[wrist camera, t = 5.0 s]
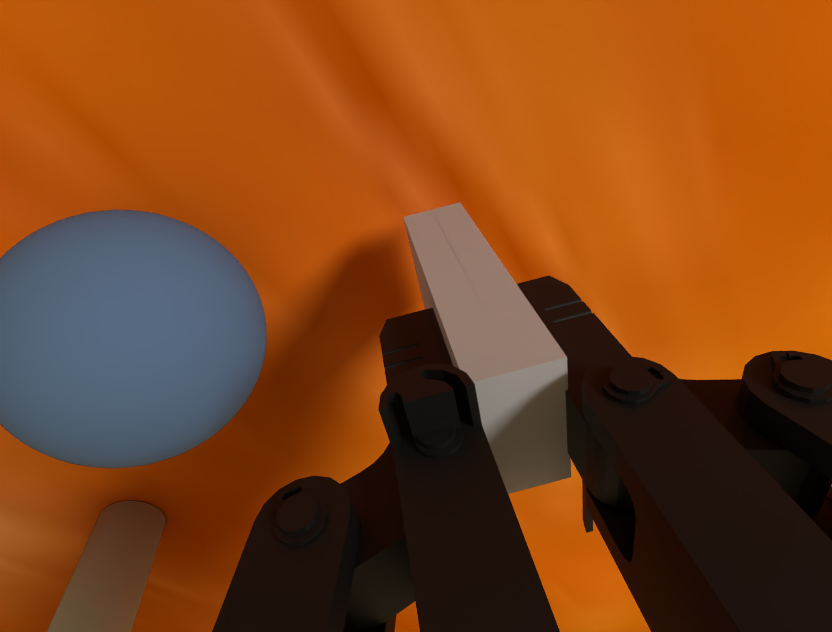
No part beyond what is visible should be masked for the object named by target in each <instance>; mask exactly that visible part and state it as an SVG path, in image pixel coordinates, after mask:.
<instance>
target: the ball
mask: <svg viewBox="0 0 832 632" xmlns="http://www.w3.org/2000/svg"><path fill="white" fill-rule="evenodd" d="M265 351H266V321H265V314H264V310H263V307H262V303H261V300H260V297H259V294H258V292H257V290H256V288H255V285H254V283H253V282H252V280H251V278H250V277H249V275H248V273H247V272H246V270H245V269H244V268H243V266H242V265H241V264H240V262H239V261H238V260H237V259H236V258H235V257H234V256H233V255H232V254H231V253H230V252H229V251H228V250H227V249H226V248H225V247H224V246H222V245H221V244H220V243H219V242H218V241H216V240H215V239H213V238H212V237H210V236H209V235H207V234H206V233H204V232H202V231H201V230H199V229H197V228H195V227H193V226H191V225H188V224H186V223H184V222H181V221H179V220H176V219H173V218H170V217H166V216H163V215H159V214H155V213H149V212H143V211H133V210H107V211H98V212H89V213H84V214H80V215H76V216H72V217H69V218H65V219H62V220H59V221H56V222H54V223H52V224H50V225H47V226H45V227H43V228H41V229H39V230H37V231H35V232H33V233H32V234H30V235H28V236H27V237H25V238H24V239H23V240H21V241H20V242H18V243H17V244H16V245H14V246H13V247H12V248H11V249H10V250H8V251H7V252H6V253H5V254H4V255H3V256H2V257H1V258H0V424H1V425H2V426H3V427H4V428H5V429H6V430H7V431H8V432H9V433H11V434H12V435H13V436H14V437H16V438H17V439H18V440H20V441H21V442H23V443H24V444H26V445H28V446H29V447H31V448H33V449H35V450H37V451H39V452H41V453H43V454H46V455H48V456H51V457H53V458H55V459H59V460H62V461H65V462H68V463H72V464H77V465H83V466H89V467H100V468H125V467H134V466H141V465H147V464H152V463H155V462H158V461H162V460H165V459H169V458H172V457H175V456H177V455H179V454H182V453H184V452H186V451H188V450H190V449H192V448H194V447H196V446H198V445H199V444H201V443H203V442H204V441H206V440H207V439H209V438H210V437H211V436H213V435H214V434H216V433H217V432H218V431H219V430H220V429H222V428H223V427H224V426H225V425H226V424H227V423H228V422H229V421H230V420H231V419H232V418H233V417H234V416H235V415H236V414H237V412H238V411H239V410H240V409H241V407H242V406H243V405H244V403H245V402H246V400H247V399H248V398H249V396H250V394H251V392H252V390H253V388H254V387H255V384H256V382H257V380H258V378H259V375H260V372H261V369H262V366H263V361H264V357H265Z"/></svg>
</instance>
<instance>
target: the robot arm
mask: <svg viewBox="0 0 832 632" xmlns="http://www.w3.org/2000/svg"><path fill="white" fill-rule="evenodd" d="M404 221H405V226H406V230H407V234H408V239H409V243H410V247H411V251H412V256H413V260H414V264H415V269H416V273H417V277H418V282H419V286H420V290H421V294H422V299H423V303H424V306H425V310H421V311H418V312H414V313H410V314H406V315H402V316H398V317H395V318H391V319H387V320H386V322H385V325H384V327H383V329H382V331H381V334H380V336H379V337H380V343H381V349H382V354H383V362H384V367H385V375H386V381H387V386H386V388H385V389H384V391H383V392H382V394H381V395H380V402H379V412H380V415H381V418H382V421H383V423H384V426H385V429H386V432H387V435H388V438H389V441H390V443H389V445H388V446H387V448H386V450H385V451H384V453H383V454H382V455H381V456H380V457H379V458H378V459H377V460H376V461H375V462H374V463H373V464H372V465H370V466H369V467H368V468H366V469H365V470H363V471H362V472H360V473H358V474H357V475H355V476H353V477H351V478H350V479H348V480H346V481H345V482H343V483H341V484H339V483H338V482H336V481H335V480H333V479H331V478H329V477H321V476H311V477H306V478H302V479H298V480H295V481H293V482H292V483H290V484H288V485H286V486H284V487H283V488H281V489H279V490H278V491H277V492H276V493H275V494H274V495H273V496H272V497H271V498H270V499H269V500H268V501H267V502H266V503H265V504H264V505H263V507H262V509H261V511H260V512H259V514H258V516H257V518H256V519H255V521H254V524H253V526H252V529H251V532H250V534H249V537H248V539H247V542H246V545H245V547H244V550H243V553H242V555H241V558H240V560H239V563H238V566H237V568H236V571H235V573H234V576H233V579H232V581H231V584H230V587H229V589H228V592H227V594H226V597H225V600H224V602H223V605H222V608H221V610H220V613H219V615H218V618H217V621H216V623H215V626H214V629H213V631H212V632H394V630H395V621H396V614H397V613H399V612H400V611H402V610H403V609H404V608H406V607H407V606H409V605H410V604H412V603H413V602H414V601H416V607H417V614H418V620H419V627H420V632H560V631H559V628H558V626H557V623H556V620H555V618H554V615H553V612H552V610H551V607H550V604H549V602H548V599H547V596H546V594H545V591H544V588H543V586H542V583H541V580H540V578H539V575H538V572H537V570H536V567H535V565H534V562H533V559H532V557H531V554H530V551H529V549H528V546H527V543H526V541H525V538H524V535H523V533H522V530H521V527H520V525H519V522H518V519H517V517H516V514H515V511H514V509H513V506H512V503H511V501H510V498H509V495H508V494H509V493H513V492H517V491H520V490H524V489H528V488H532V487H535V486H539V485H543V484H547V483H550V482H554V481H558V480H561V479H565V478H569V477H571V461H570V457H571V459H572V461H573V463H574V465H575V467H576V468H577V470H578V472H579V474H580V476H581V478H582V483H583V522H584V526H585V529H586V533H587V532H590V531H593V520H594V522H595V524H596V526H597V528H598V530H599V532H600V534H601V536H602V537H603V539H604V541H605V543H606V545H607V547H608V549H609V551H610V553H611V555H612V557H613V559H614V561H615V563H616V564H617V566H618V568H619V570H620V572H621V574H622V576H623V578H624V580H625V582H626V584H627V586H628V588H629V590H630V591H631V593H632V595H633V597H634V599H635V601H636V603H637V605H638V607H639V609H640V611H641V613H642V615H643V617H644V618H645V620H646V622H647V624H648V626H649V628H650V630H651V632H832V487H831V485H832V360H829V359H826V358H824V357H821V356H818V355H815V354H809V353H803V352H798V351H771V352H768V353H765V354H761V355H758V356H755V357H754V358H753V359H752V360H750V361H749V362H748V363H747V364H746V365H745V367H744V371H743V376H742V379H736V380H685V379H678V378H677V377H676V376H675V375H674V374H673V373H672V372H670V371H669V370H668V369H666V368H665V367H663V366H662V365H661V364H658V363H655V362H653V361H650V360H647V359H644V358H638V357H632V356H631V355H630V354H629V353H628V352H627V351H626V349H625V348H624V347H623V346H622V345H621V344H620V343H619V342H618V340H617V339H616V338H615V337H614V336H613V335H612V334H611V332H610V331H609V330H608V329H607V328H606V327H605V326H604V324H603V323H602V322H601V321H600V320H599V319H598V318H597V317H596V315H595V314H594V313H591V310H590V309H589V307H588V306H587V305H586V304H585V303H584V302H582V301H581V298H580V297H579V296H578V295H577V294H576V293H575V292H574V290H573V289H572V288H571V287H570V286H569V285H568V284H566V283H563V282H561V281H559V280H557V279H555V278H553V277H551V276H545V277H542V278H538V279H534V280H530V281H526V282H522V283H519V284H516V283H515V281H514V280H513V278H512V277H511V275H510V274H509V273H508V271H507V270H506V268H505V267H504V265H503V264H502V262H501V261H500V260H499V258H498V257H497V255H496V254H495V252H494V251H493V249H492V248H491V247H490V245H489V244H488V242H487V241H486V239H485V238H484V236H483V235H482V233H481V232H480V231H479V229H478V228H477V226H476V225H475V223H474V222H473V220H472V219H471V218H470V216H469V215H468V213H467V212H466V210H465V209H464V207H463V206H462V205H461V203H456V204H452V205H448V206H444V207H440V208H436V209H432V210H429V211H425V212H421V213H417V214H413V215H409V216H405V217H404Z"/></svg>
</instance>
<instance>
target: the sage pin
mask: <svg viewBox="0 0 832 632" xmlns="http://www.w3.org/2000/svg"><path fill="white" fill-rule="evenodd" d="M165 522H166V519H165V516H164V514H163V513H162V512H161V511H160V510H159V509H158V508H156V507H155V506H153V505H151V504H148V503H144V502H139V501H121V502H116V503H113V504H111V505H109V506H107V507H106V508H104V509H103V510H102V511H101V513H100V515H99V517H98V520H97V522H96V524H95V526H94V528H93V531H92V533H91V535H90V537H89V539H88V542H87V544H86V546H85V548H84V550H83V553H82V555H81V557H80V559H79V562H78V564H77V566H76V568H75V570H74V573H73V575H72V577H71V579H70V581H69V584H68V586H67V588H66V590H65V592H64V595H63V597H62V599H61V601H60V603H59V606H58V608H57V610H56V612H55V615H54V617H53V619H52V621H51V623H50V626H49V628H48V630H47V632H131V630H132V627H133V624H134V621H135V618H136V615H137V611H138V608H139V605H140V602H141V599H142V596H143V592H144V589H145V586H146V583H147V580H148V577H149V574H150V570H151V567H152V564H153V561H154V558H155V555H156V551H157V548H158V545H159V542H160V539H161V536H162V532H163V529H164V526H165Z"/></svg>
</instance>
